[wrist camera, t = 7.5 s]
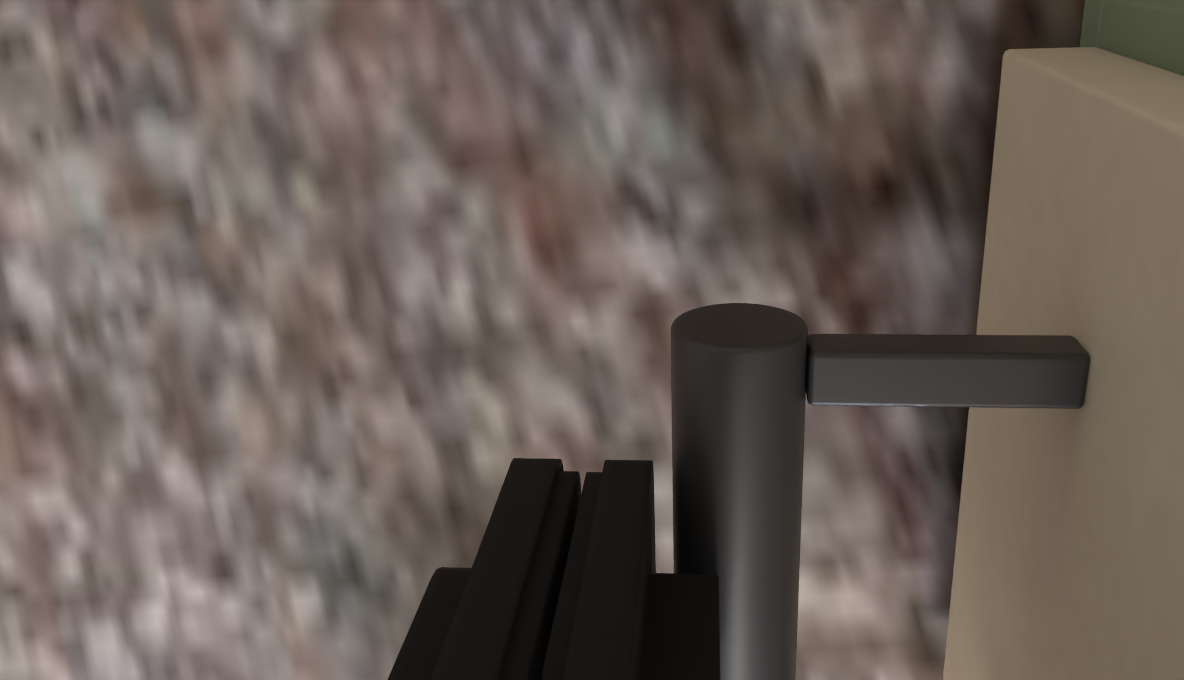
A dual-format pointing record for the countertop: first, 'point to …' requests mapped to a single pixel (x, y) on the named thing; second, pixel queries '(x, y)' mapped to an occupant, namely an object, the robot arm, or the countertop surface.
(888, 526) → the countertop surface
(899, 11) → the countertop surface
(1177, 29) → the cabinet
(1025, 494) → the drawer
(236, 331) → the countertop surface
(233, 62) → the countertop surface
